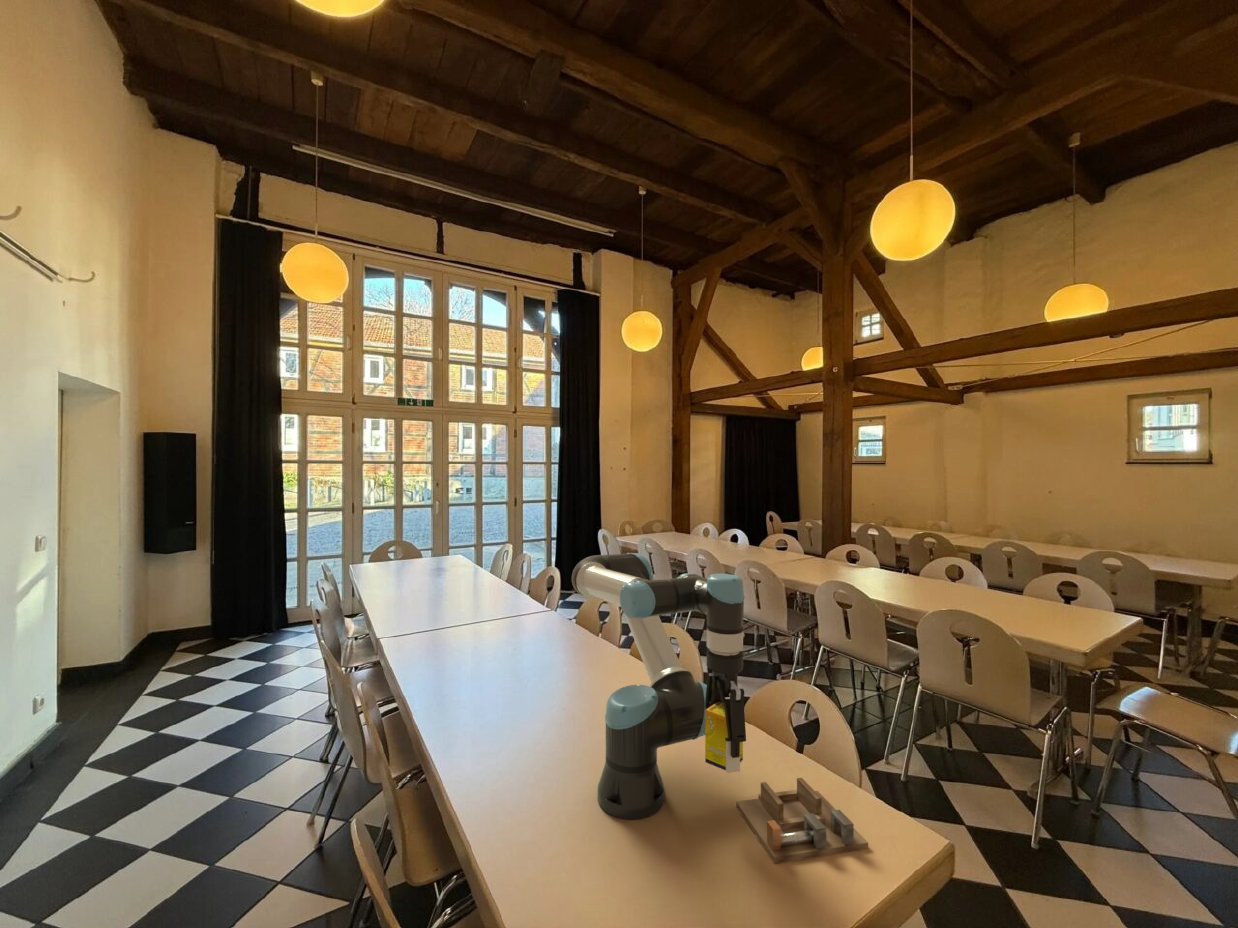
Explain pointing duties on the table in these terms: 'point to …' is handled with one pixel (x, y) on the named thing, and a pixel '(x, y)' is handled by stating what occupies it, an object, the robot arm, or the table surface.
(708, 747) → the supplement box
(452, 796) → the table surface
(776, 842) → the lock pin
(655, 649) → the robot arm
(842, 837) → the dock
